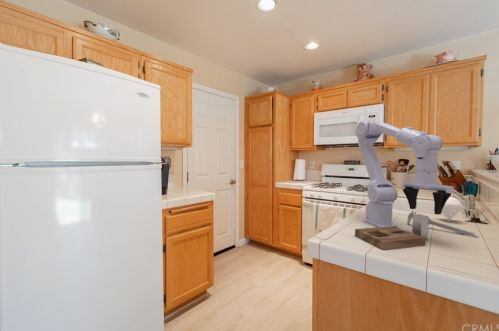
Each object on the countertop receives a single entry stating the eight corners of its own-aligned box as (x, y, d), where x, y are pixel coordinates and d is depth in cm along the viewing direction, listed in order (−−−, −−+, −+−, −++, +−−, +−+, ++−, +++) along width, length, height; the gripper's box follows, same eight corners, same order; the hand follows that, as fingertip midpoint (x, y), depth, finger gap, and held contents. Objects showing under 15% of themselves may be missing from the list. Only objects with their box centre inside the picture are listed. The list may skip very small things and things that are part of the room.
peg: (412, 237, 76) (412, 214, 76) (418, 236, 77) (419, 214, 77) (420, 240, 73) (421, 216, 73) (427, 239, 74) (428, 216, 74)
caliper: (407, 225, 90) (407, 210, 90) (407, 225, 91) (408, 209, 91) (479, 238, 76) (479, 220, 76) (478, 237, 77) (479, 219, 77)
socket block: (354, 236, 77) (355, 228, 77) (392, 232, 81) (392, 225, 81) (383, 250, 66) (383, 241, 65) (425, 245, 69) (425, 237, 69)
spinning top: (466, 224, 91) (467, 195, 91) (448, 224, 91) (449, 195, 91) (449, 219, 99) (450, 192, 99) (432, 219, 99) (433, 192, 98)
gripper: (396, 170, 79) (395, 207, 79) (444, 172, 65) (442, 217, 66) (409, 169, 81) (408, 206, 82) (458, 172, 68) (456, 215, 68)
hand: (424, 211), depth 74 cm, fingers open, 7 cm apart
